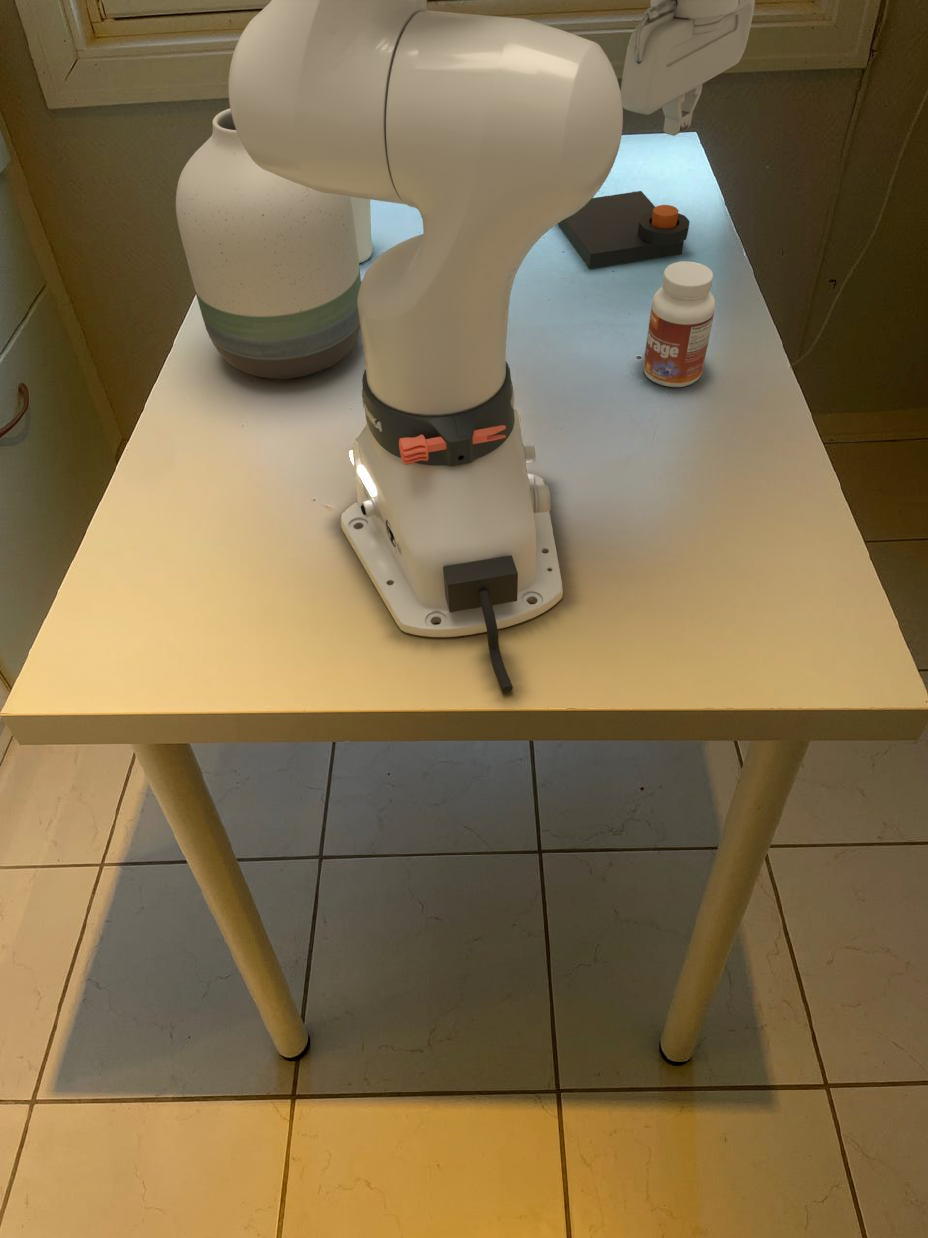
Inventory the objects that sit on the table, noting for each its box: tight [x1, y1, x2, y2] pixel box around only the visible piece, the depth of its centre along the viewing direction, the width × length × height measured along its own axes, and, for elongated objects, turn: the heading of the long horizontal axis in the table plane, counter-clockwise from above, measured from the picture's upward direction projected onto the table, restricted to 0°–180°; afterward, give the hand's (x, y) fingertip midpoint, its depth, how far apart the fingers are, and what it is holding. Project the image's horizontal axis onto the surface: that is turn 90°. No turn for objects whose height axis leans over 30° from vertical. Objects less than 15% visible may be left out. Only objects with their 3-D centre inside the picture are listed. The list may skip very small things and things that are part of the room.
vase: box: [175, 108, 362, 380], centre depth 93 cm, size 17×17×24 cm
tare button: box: [651, 204, 679, 229], centre depth 112 cm, size 3×3×2 cm
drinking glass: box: [350, 197, 373, 264], centre depth 110 cm, size 7×7×15 cm
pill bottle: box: [642, 260, 716, 388], centre depth 93 cm, size 6×6×11 cm
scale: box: [557, 190, 691, 270], centre depth 116 cm, size 15×13×4 cm
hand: (676, 130), depth 104 cm, fingers closed
